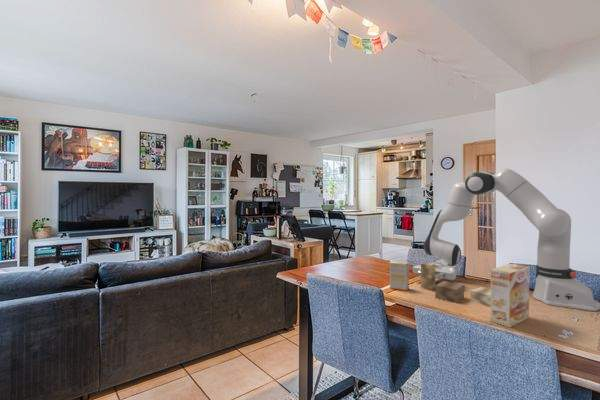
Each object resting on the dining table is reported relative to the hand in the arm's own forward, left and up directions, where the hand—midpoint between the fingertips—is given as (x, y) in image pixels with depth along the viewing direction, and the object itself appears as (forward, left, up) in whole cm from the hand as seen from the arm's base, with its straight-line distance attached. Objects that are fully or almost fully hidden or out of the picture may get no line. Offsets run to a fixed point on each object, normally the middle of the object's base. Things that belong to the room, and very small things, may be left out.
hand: (427, 275), depth 159 cm
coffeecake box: (-38, +16, -7) cm, 42 cm away
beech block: (-26, +2, -7) cm, 27 cm away
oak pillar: (0, -1, -7) cm, 7 cm away
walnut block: (-13, +7, -7) cm, 16 cm away
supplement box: (+10, +9, -7) cm, 15 cm away
